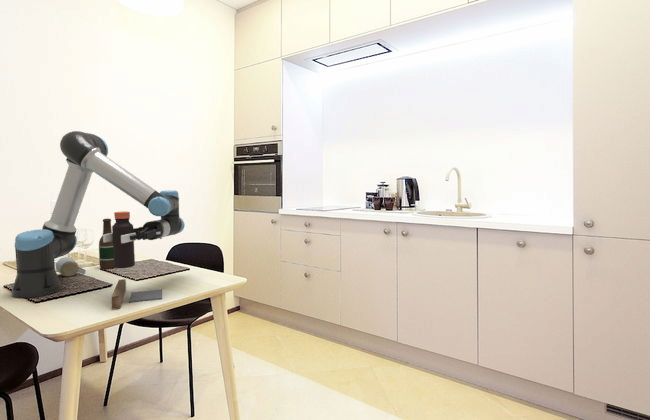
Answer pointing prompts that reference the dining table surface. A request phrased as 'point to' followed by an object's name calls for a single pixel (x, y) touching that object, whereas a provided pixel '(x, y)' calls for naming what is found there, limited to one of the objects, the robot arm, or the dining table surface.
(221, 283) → the dining table surface
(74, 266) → the ceramic mug
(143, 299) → the pad
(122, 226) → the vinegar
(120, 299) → the door rail
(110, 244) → the beer bottle
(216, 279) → the dining table surface
